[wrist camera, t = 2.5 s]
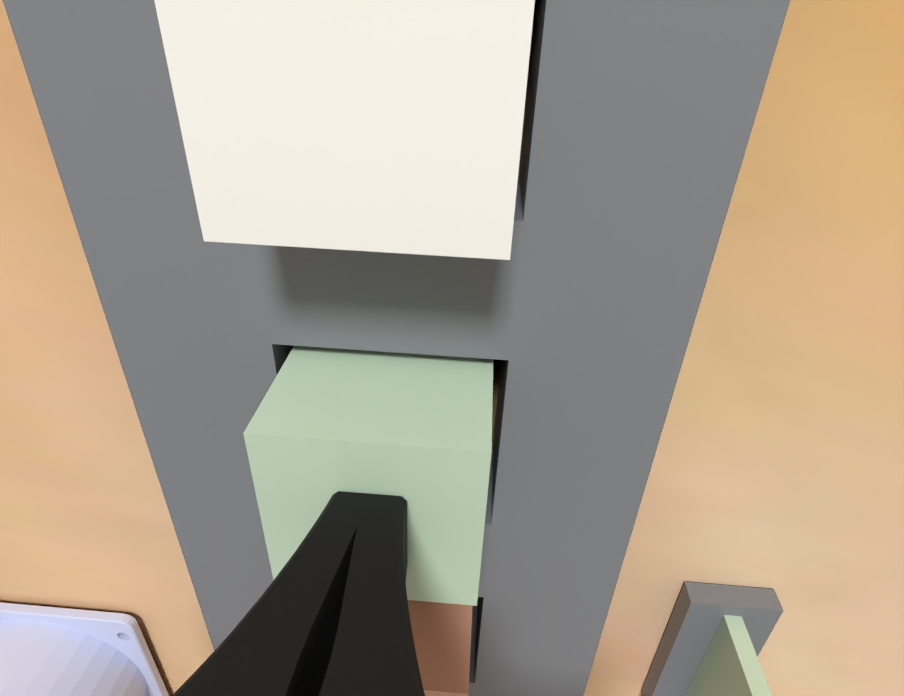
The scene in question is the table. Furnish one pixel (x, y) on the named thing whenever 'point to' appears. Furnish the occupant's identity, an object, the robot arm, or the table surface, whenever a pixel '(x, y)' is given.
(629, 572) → the table surface
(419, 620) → the terracotta block
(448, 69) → the cream block
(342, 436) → the sage block
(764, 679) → the card
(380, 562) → the robot arm
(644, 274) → the button board
